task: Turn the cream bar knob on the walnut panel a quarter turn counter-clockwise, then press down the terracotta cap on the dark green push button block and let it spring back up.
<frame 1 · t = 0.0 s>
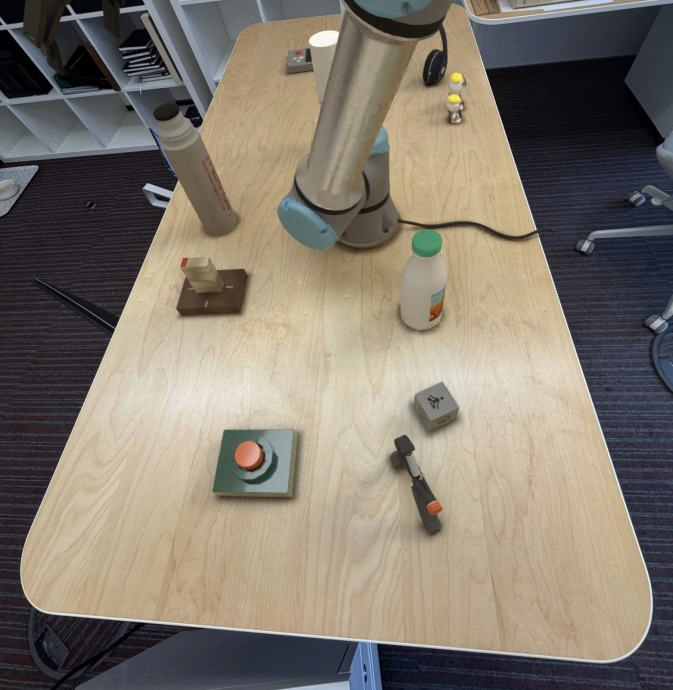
hand: (85, 50, 75), 36 cm above the table, tool tilted 35°, fingers open, 13 cm apart
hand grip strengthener: (414, 493, 63), on the table
cylindrical container: (339, 146, 110), on the table
dice cube: (434, 412, 69), on the table
thermos bottle: (221, 224, 100), on the table
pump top: (249, 455, 63), point 6 cm above the table, slide at 0.1 cm
panel: (215, 295, 88), on the table
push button: (259, 465, 68), on the table
milk bottle: (420, 315, 79), on the table
headphones: (412, 78, 123), on the table
electronic device: (311, 63, 135), on the table
knob: (202, 275, 83), point 7 cm above the table, hinge at 0.0°
toy figures: (454, 112, 111), on the table
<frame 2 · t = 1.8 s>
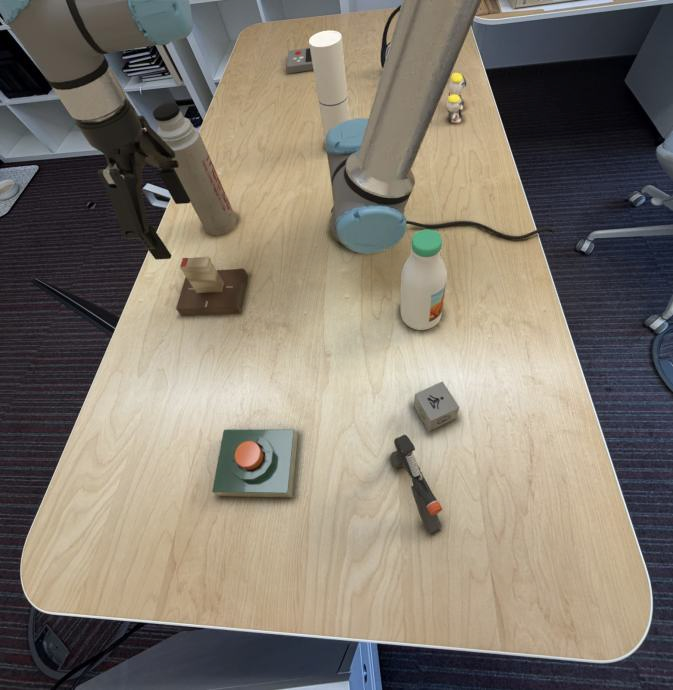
hand: (174, 228, 73), 19 cm above the table, tool pointing down, fingers open, 13 cm apart
nothing on the table moved.
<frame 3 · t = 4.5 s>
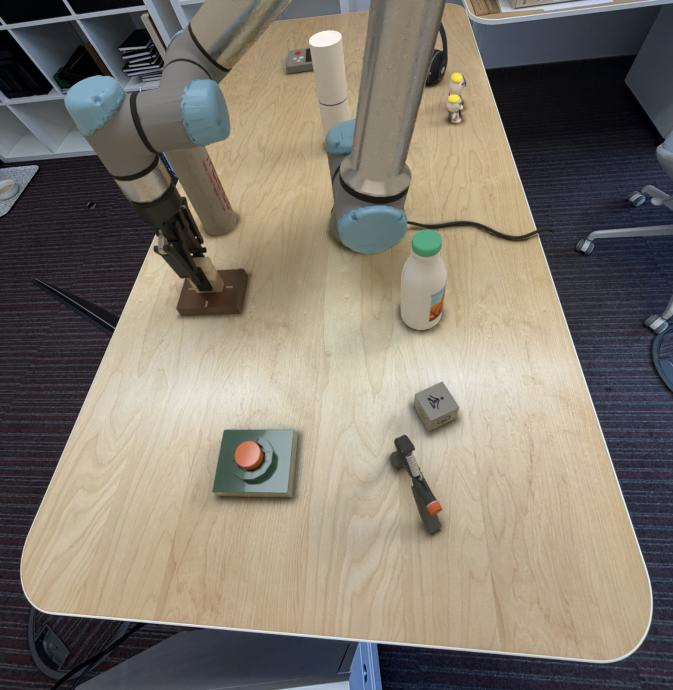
hand: (207, 283, 85), 4 cm above the table, tool pointing down, fingers closed on knob, 2 cm apart
knob: (202, 275, 83), point 7 cm above the table, hinge at 0.0°, touching gripper
everything else where it was.
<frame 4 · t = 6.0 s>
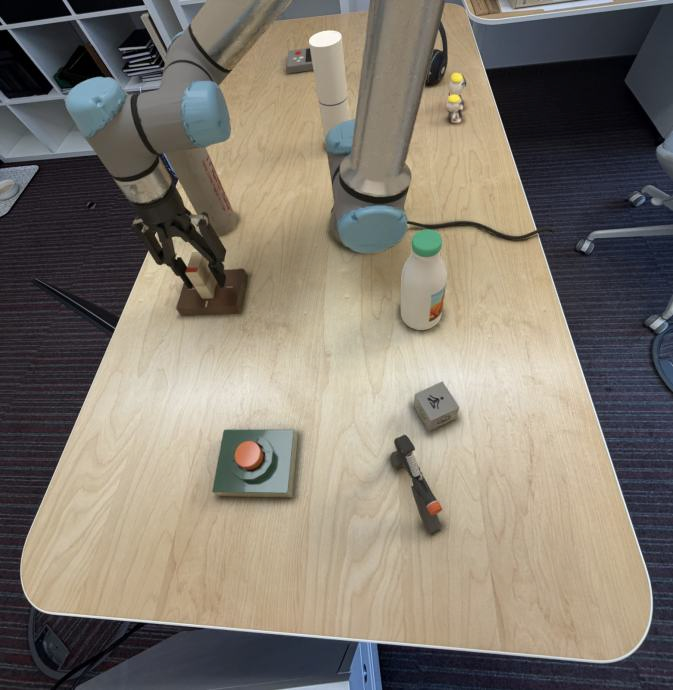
hand: (207, 282, 85), 4 cm above the table, tool pointing down, fingers open, 6 cm apart
knob: (202, 275, 83), point 7 cm above the table, hinge at 89.5°
everything else where it was.
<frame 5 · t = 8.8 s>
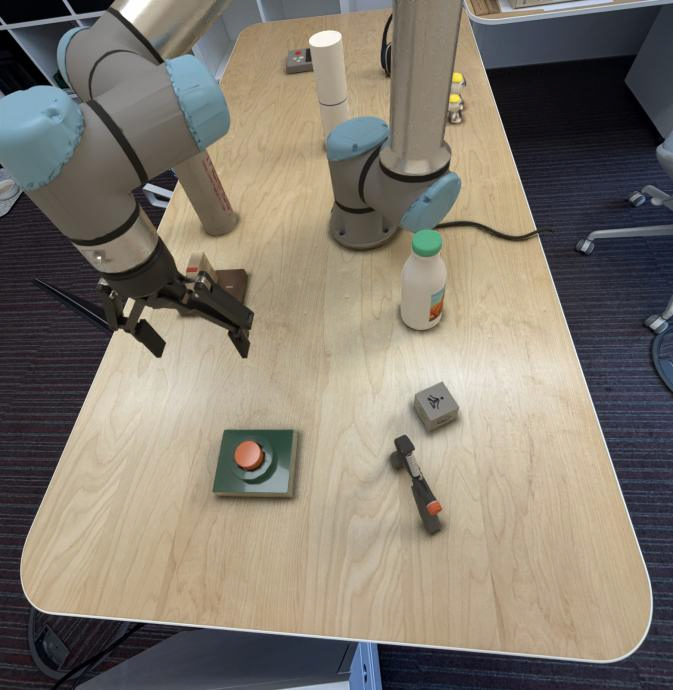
hand: (203, 350, 62), 15 cm above the table, tool pointing down, fingers open, 13 cm apart
nothing on the table moved.
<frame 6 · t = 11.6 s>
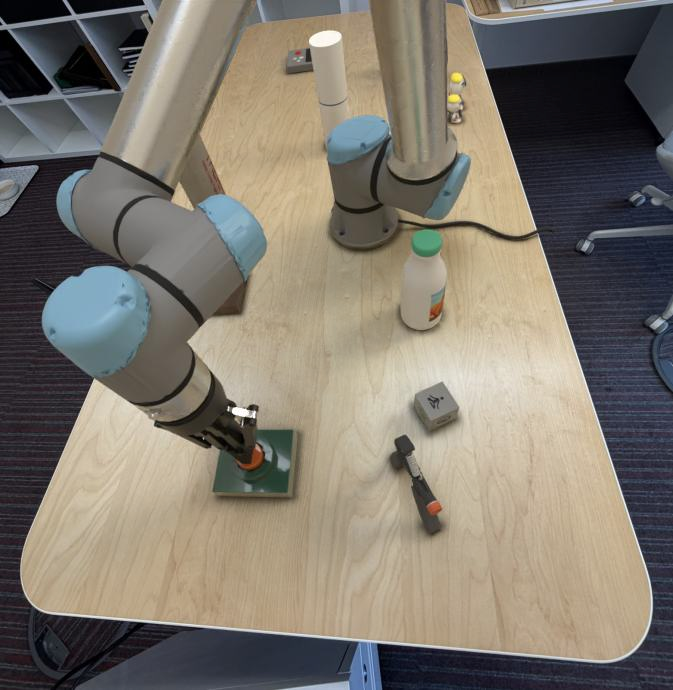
hand: (247, 454, 63), 6 cm above the table, tool pointing down, fingers closed
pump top: (250, 456, 64), point 5 cm above the table, slide at -0.6 cm, touching gripper
everything else where it was.
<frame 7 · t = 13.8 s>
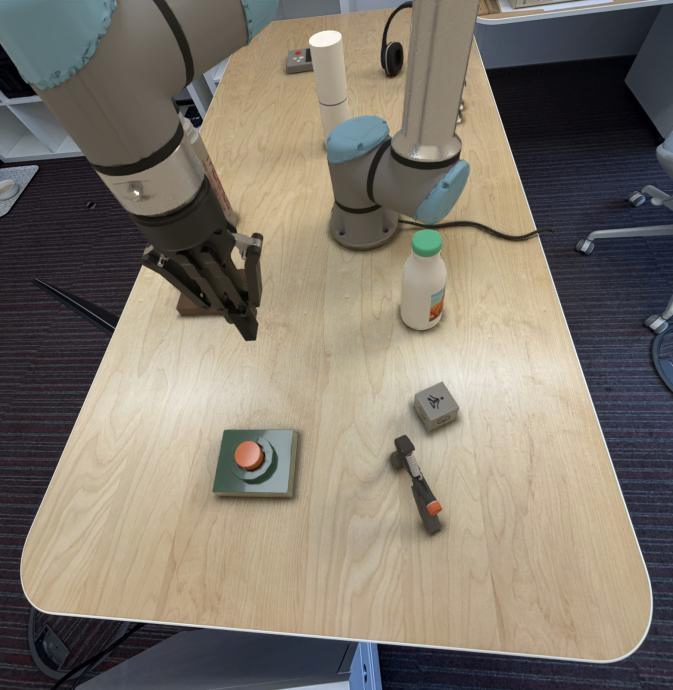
hand: (252, 332, 56), 21 cm above the table, tool pointing down, fingers closed
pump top: (249, 455, 63), point 6 cm above the table, slide at 0.1 cm
everything else where it was.
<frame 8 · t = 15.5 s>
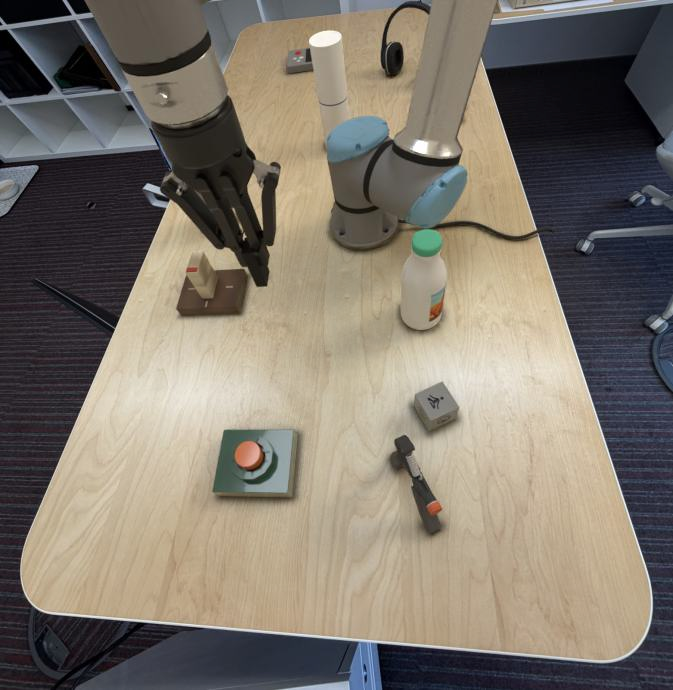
hand: (263, 279, 56), 24 cm above the table, tool pointing down, fingers closed
nothing on the table moved.
at the end: knob at +90° (first picture: +0°); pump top pushed in 1.0 cm at the most during the clip, back to where it started at the end; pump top slide at 0.1 cm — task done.
